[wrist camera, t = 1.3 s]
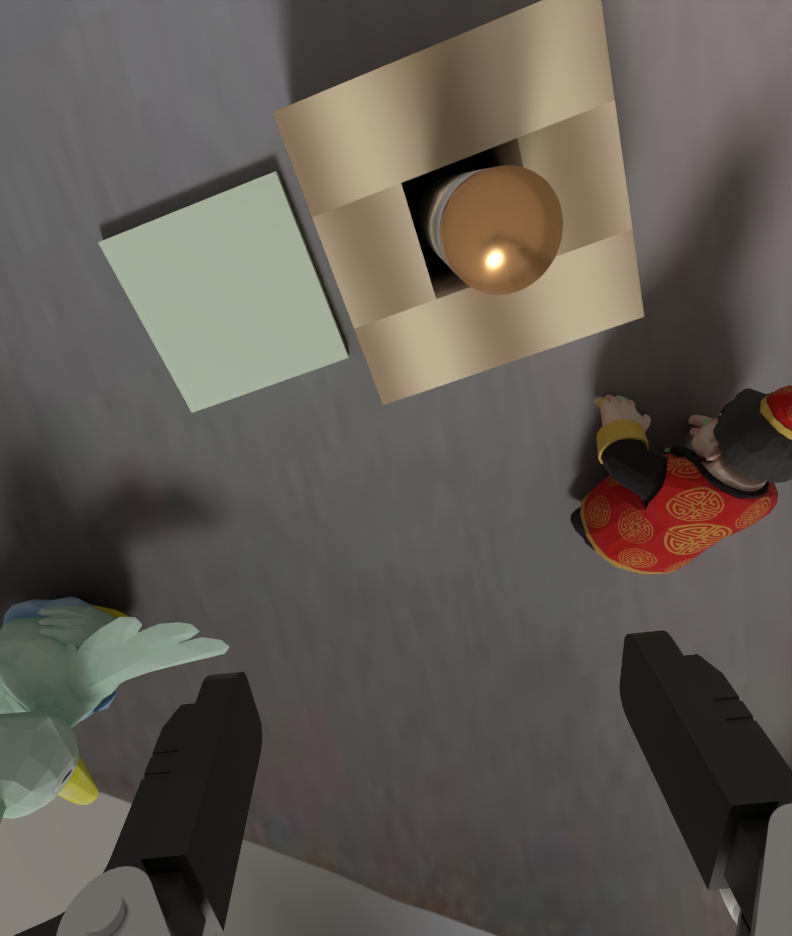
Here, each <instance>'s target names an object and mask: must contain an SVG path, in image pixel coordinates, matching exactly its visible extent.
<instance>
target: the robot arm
mask: <svg viewBox="0 0 792 936" xmlns="http://www.w3.org/2000/svg"><path fill="white" fill-rule="evenodd" d="M620 696H621V702H622V706H623V709H624V712H625V715H626V717H627V719H628V722H629V724H630V726H631V728H632V730H633V732H634V734H635V736H636V739H637V741H638V743H639V745H640V747H641V749H642V751H643V753H644V756H645V758H646V760H647V762H648V764H649V766H650V768H651V770H652V772H653V775H654V777H655V779H656V781H657V783H658V785H659V787H660V789H661V792H662V794H663V796H664V798H665V800H666V802H667V804H668V806H669V808H670V811H671V813H672V815H673V817H674V819H675V821H676V823H677V825H678V828H679V830H680V832H681V834H682V836H683V838H684V840H685V842H686V845H687V847H688V849H689V851H690V853H691V855H692V857H693V859H694V861H695V864H696V866H697V868H698V870H699V872H700V874H701V876H702V878H703V881H704V883H705V885H706V887H707V889H708V890H716V889H726V888H730V889H731V891H732V893H733V895H734V897H735V899H736V901H737V903H738V905H739V907H740V912H739V916H738V922H737V929H736V936H792V770H791V769H790V767H789V766H788V765H787V763H786V762H785V760H784V759H783V758H782V756H781V755H780V753H779V752H778V751H777V749H776V748H775V746H774V745H773V744H772V742H771V741H770V739H769V738H768V737H767V735H766V734H765V732H764V731H763V730H762V728H761V727H760V725H759V724H758V723H757V721H754V720H753V716H752V714H751V713H750V711H749V710H748V709H747V707H746V706H745V704H744V703H743V702H742V701H740V700H739V696H738V695H737V693H736V692H735V690H734V689H733V688H732V686H731V685H730V683H729V682H728V681H727V679H726V678H725V676H724V675H723V674H722V673H721V672H720V671H719V670H717V669H716V668H715V667H714V666H712V665H711V664H710V663H708V662H707V661H706V660H704V659H703V658H702V657H701V656H699V655H698V654H695V655H685V656H683V654H682V652H681V651H680V649H679V648H678V646H677V645H676V643H675V642H674V640H673V639H672V637H671V636H670V635H669V634H668V633H667V632H666V631H664V630H663V631H653V632H643V633H633V634H627V635H626V636H625V640H624V648H623V658H622V667H621V677H620ZM261 746H262V727H261V721H260V717H259V714H258V711H257V708H256V705H255V701H254V698H253V695H252V692H251V689H250V686H249V683H248V679H247V677H246V675H245V673H244V672H238V673H228V674H218V675H208V676H207V677H206V678H205V679H204V681H203V683H202V686H201V689H200V691H199V694H198V697H197V700H196V703H195V704H185V705H181V706H180V707H179V708H178V709H177V711H176V712H175V713H174V714H173V716H172V717H171V718H170V719H169V720H168V722H167V723H166V724H165V725H164V727H163V728H162V731H161V733H160V736H159V738H158V741H157V743H156V746H155V748H154V751H153V757H152V758H150V761H149V763H148V766H147V768H146V771H145V773H144V779H142V781H141V783H140V786H139V788H138V791H137V793H136V796H135V798H134V801H133V803H132V806H131V808H130V811H129V813H128V816H127V818H126V821H125V823H124V826H123V828H122V831H121V833H120V836H119V838H118V841H117V843H116V846H115V848H114V851H113V853H112V856H111V858H110V861H109V863H108V865H107V867H106V869H105V870H104V872H103V874H101V875H100V876H98V877H96V878H95V879H93V880H92V881H91V882H90V883H89V884H87V885H86V886H85V887H84V888H83V889H82V890H81V891H80V892H79V893H78V894H77V896H76V897H75V898H74V899H73V901H72V902H71V903H70V905H69V906H68V908H67V910H66V911H65V912H63V913H62V914H60V915H58V916H57V917H54V918H52V919H50V920H48V921H46V922H44V923H41V924H39V925H37V926H35V927H32V928H30V929H28V930H26V931H23V932H21V933H19V934H16V935H14V936H202V935H203V934H207V933H217V932H223V931H224V926H225V921H226V917H227V912H228V907H229V902H230V897H231V892H232V888H233V883H234V878H235V873H236V868H237V863H238V859H239V854H240V849H241V844H242V840H243V835H244V830H245V825H246V820H247V816H248V811H249V806H250V801H251V796H252V792H253V787H254V782H255V777H256V772H257V768H258V763H259V758H260V753H261Z"/></svg>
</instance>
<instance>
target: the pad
mask: <svg viewBox="0 0 792 936" xmlns="http://www.w3.org/2000/svg"><path fill="white" fill-rule="evenodd" d="M98 243H99V245H100V247H101V249H102V250H103V252H104V254H105V256H106V258H107V259H108V261H109V263H110V265H111V267H112V269H113V270H114V272H115V274H116V276H117V278H118V279H119V281H120V283H121V285H122V287H123V289H124V290H125V292H126V294H127V296H128V298H129V299H130V301H131V303H132V305H133V307H134V308H135V310H136V312H137V314H138V316H139V318H140V319H141V321H142V323H143V325H144V327H145V328H146V330H147V332H148V334H149V336H150V338H151V339H152V341H153V343H154V345H155V347H156V348H157V350H158V352H159V354H160V356H161V358H162V359H163V361H164V363H165V365H166V367H167V368H168V370H169V372H170V374H171V376H172V377H173V379H174V381H175V383H176V385H177V387H178V388H179V390H180V392H181V394H182V396H183V397H184V399H185V401H186V403H187V405H188V407H189V408H190V410H191V412H192V413H193V412H196V411H199V410H201V409H204V408H207V407H210V406H213V405H216V404H219V403H221V402H224V401H227V400H230V399H233V398H236V397H238V396H241V395H244V394H247V393H250V392H253V391H255V390H258V389H261V388H264V387H267V386H270V385H272V384H275V383H278V382H281V381H284V380H287V379H290V378H292V377H295V376H298V375H301V374H304V373H307V372H309V371H312V370H315V369H318V368H321V367H324V366H326V365H329V364H332V363H335V362H338V361H341V360H343V359H346V358H349V353H348V351H347V348H346V346H345V343H344V341H343V338H342V335H341V333H340V330H339V328H338V325H337V323H336V320H335V318H334V315H333V312H332V310H331V307H330V305H329V302H328V300H327V297H326V295H325V292H324V289H323V287H322V284H321V282H320V279H319V277H318V274H317V271H316V269H315V266H314V264H313V261H312V259H311V256H310V254H309V251H308V248H307V246H306V243H305V241H304V238H303V236H302V233H301V231H300V228H299V225H298V223H297V220H296V218H295V215H294V213H293V210H292V207H291V205H290V202H289V200H288V197H287V195H286V192H285V190H284V187H283V184H282V182H281V179H280V177H279V174H278V172H277V171H275V172H272V173H270V174H267V175H265V176H262V177H260V178H257V179H255V180H252V181H250V182H247V183H245V184H242V185H240V186H237V187H235V188H232V189H230V190H227V191H225V192H222V193H220V194H217V195H215V196H213V197H210V198H208V199H205V200H203V201H200V202H198V203H195V204H193V205H190V206H188V207H185V208H183V209H180V210H178V211H175V212H173V213H170V214H168V215H165V216H163V217H160V218H158V219H155V220H153V221H150V222H148V223H145V224H143V225H140V226H138V227H135V228H133V229H130V230H128V231H125V232H123V233H120V234H118V235H115V236H113V237H110V238H108V239H105V240H103V241H100V242H98Z"/></svg>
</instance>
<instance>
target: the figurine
mask: <svg viewBox="0 0 792 936" xmlns="http://www.w3.org/2000/svg"><path fill="white" fill-rule="evenodd" d="M594 404H596V406H597V407H598V409H599V410H600V411H601V418H602V425H603V427H601V428H600V430H599V431H598V433H597V434H596V437H597V449H598V459H599V461H600V463H602V464H603V465H604V466H605V468H606V470H607V472H608V473H609V476H607V477H606V478H605V479H603V480H602V481H601V482H600V483H599V484H598V485H597V486H596V487H595V488H594V489H592V490H591V491H590V492H589V493H588V494H587V495H586V496H585V497H584V499H583V500H582V501H581V507H579V508H578V509H576V510H575V511H574V512H573V513H572V515H571V520H570V521H571V523H572V524H573V526H574V528H575V530H576V531H577V532H578V533H579V534H580V535H581V536H582V537H583V538H584V540H585V543H586V544H587V545H589V546H590V547H591V548H592V549H593V550H595V551H596V552H597V553H598V554H599V555H600V556H602V557H603V558H604V559H606V560H607V561H608V562H610V563H611V564H612V565H614V566H615V567H618V568H622V569H626V570H629V571H633V572H637V573H641V574H661V573H669V572H673V571H676V570H677V569H679V568H681V567H682V566H684V565H686V564H687V563H689V562H690V561H691V560H693V559H694V558H695V557H697V556H698V555H699V554H701V553H702V552H703V551H705V550H706V549H708V548H709V547H711V546H712V545H714V544H715V543H717V542H718V541H720V540H721V539H723V538H725V537H727V536H729V535H732V534H734V533H736V532H738V531H740V530H743V529H745V528H747V527H749V526H751V525H753V524H754V523H756V522H757V521H759V520H760V519H762V518H763V517H765V516H766V515H768V514H769V513H770V512H771V510H772V509H773V508H774V506H775V505H776V504H777V497H778V492H777V489H776V487H775V484H774V482H775V483H779V482H786V481H789V480H791V479H792V386H791V385H789V386H786V387H783V388H780V389H778V390H777V391H775V392H771V393H770V394H764V393H761V392H758V391H755V390H753V389H750V388H749V389H744V390H743V391H741V392H740V393H739V394H737V396H736V397H735V398H734V400H732V401H731V402H729V403H728V404H726V405H725V406H724V407H723V408H722V410H721V412H720V416H718V417H717V418H716V419H712V418H709V417H706V416H702V415H696V414H695V415H692V416H690V418H689V421H688V423H689V424H692V425H694V426H697V427H699V428H700V429H698V428H692V429H691V430H690V437H692V438H693V440H692V448H693V450H694V451H692V450H691V449H687V448H686V447H680V446H672V447H671V448H665V449H664V452H665V454H664V455H660V454H658V453H655V452H652V451H649V443H648V440H647V437H646V434H645V432H646V431H647V429H648V428H649V426H650V422H651V418H650V417H649V415H646V414H644V415H643V416H641V415H640V414H639V413H638V412H637V411H636V407H635V403H634V401H633V400H631V399H630V400H627V398H625V397H623V396H612V395H606V396H604V398H603V397H597V398H595V399H594ZM642 501H644V503H645V504H646V506H647V507H646V506H645V505H644V504H643V502H642Z"/></svg>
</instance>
